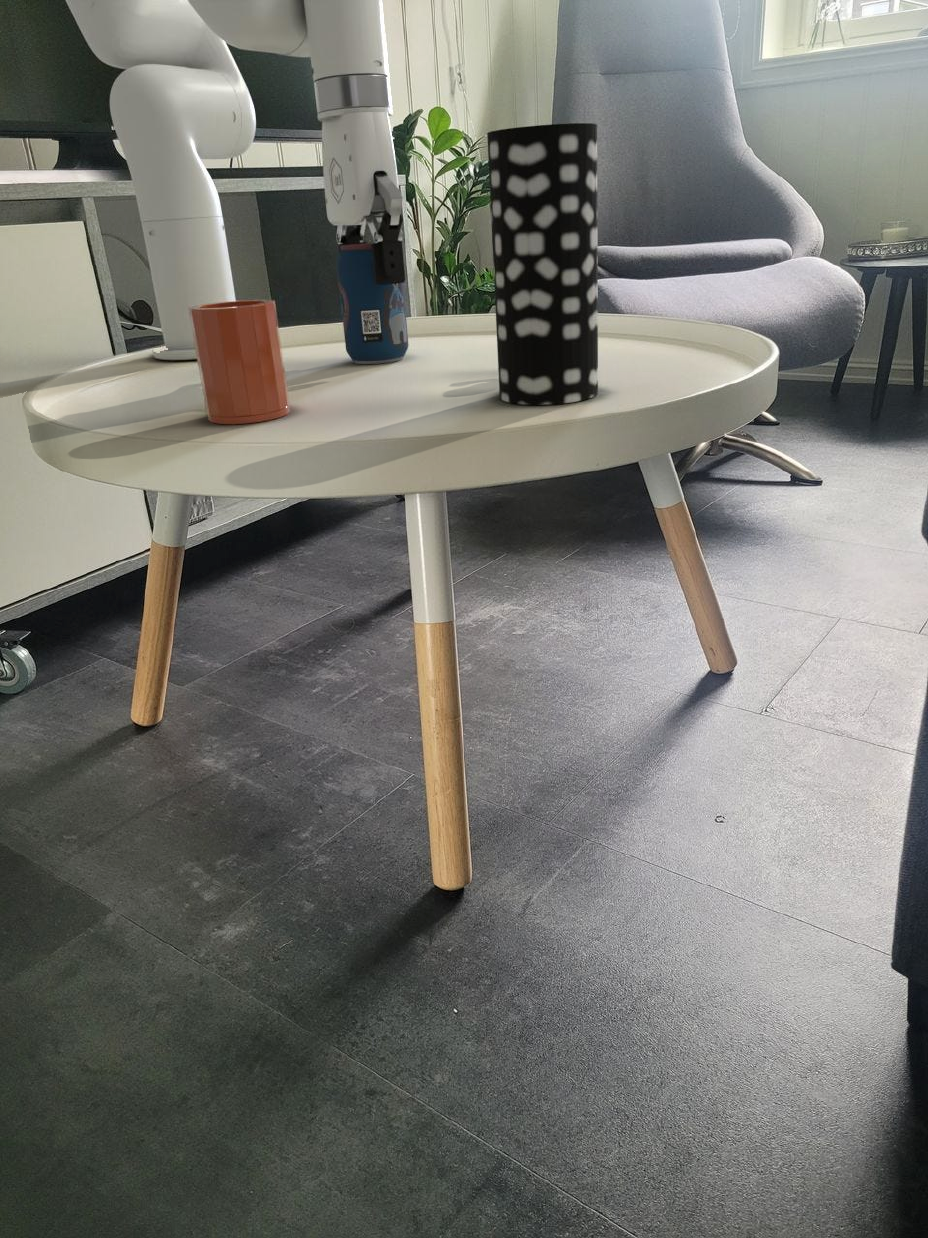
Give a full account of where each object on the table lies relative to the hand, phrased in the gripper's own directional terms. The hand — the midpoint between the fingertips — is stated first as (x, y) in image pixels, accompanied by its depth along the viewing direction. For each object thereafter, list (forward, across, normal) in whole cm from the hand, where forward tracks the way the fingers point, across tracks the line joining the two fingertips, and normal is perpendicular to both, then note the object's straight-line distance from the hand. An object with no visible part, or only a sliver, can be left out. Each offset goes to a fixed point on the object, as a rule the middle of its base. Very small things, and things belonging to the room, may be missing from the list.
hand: (373, 282), depth 99 cm
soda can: (+8, 0, 0) cm, 8 cm away
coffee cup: (+8, +20, -20) cm, 29 cm away
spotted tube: (+9, +31, +3) cm, 32 cm away
